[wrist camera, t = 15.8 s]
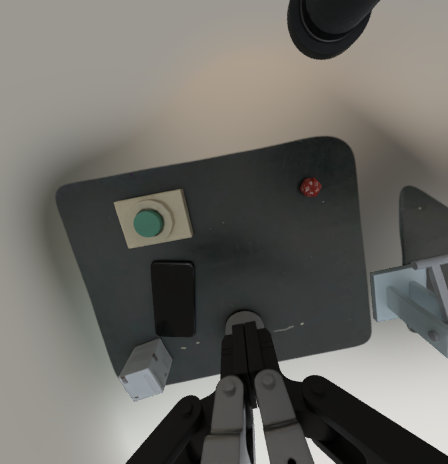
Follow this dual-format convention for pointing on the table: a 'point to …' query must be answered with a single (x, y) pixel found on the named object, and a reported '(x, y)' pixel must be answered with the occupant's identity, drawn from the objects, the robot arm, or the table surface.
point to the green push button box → (166, 205)
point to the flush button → (148, 223)
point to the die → (310, 187)
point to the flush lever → (436, 280)
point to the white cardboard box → (146, 370)
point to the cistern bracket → (409, 303)
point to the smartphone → (173, 298)
